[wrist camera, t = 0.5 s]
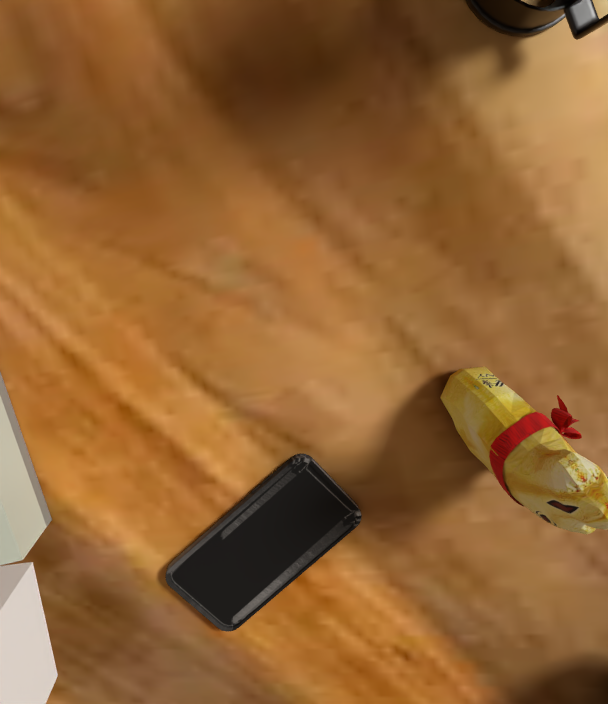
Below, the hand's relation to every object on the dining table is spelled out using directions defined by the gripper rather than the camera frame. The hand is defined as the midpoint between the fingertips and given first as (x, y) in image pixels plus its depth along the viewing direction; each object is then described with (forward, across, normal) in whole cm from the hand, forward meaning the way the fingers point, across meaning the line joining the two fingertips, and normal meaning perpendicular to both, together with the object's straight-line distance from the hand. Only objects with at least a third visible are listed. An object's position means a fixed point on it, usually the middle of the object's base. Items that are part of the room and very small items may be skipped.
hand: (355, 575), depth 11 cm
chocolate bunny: (+27, +16, -8) cm, 33 cm away
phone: (+27, -3, -16) cm, 32 cm away
